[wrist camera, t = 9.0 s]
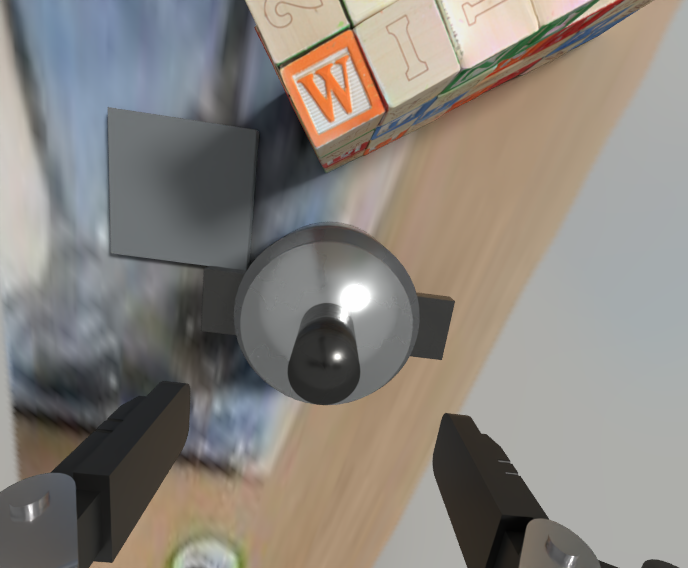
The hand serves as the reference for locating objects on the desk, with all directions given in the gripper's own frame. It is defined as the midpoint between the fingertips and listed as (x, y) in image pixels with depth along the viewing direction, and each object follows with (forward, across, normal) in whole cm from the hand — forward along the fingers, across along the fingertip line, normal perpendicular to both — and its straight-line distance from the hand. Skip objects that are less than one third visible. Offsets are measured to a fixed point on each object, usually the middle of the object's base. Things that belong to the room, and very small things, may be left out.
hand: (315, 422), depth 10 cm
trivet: (+17, +11, -6) cm, 21 cm away
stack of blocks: (+17, -6, -17) cm, 25 cm away
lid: (+10, 0, 0) cm, 10 cm away
